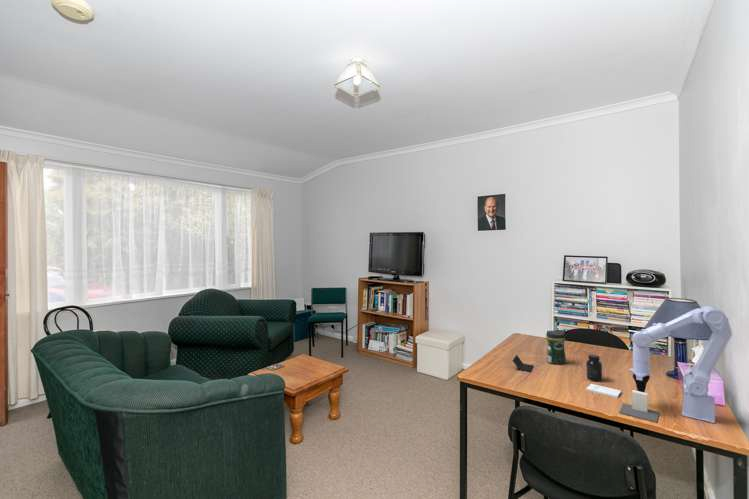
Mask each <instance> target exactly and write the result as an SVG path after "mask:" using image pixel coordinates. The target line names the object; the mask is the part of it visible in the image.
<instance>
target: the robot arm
mask: <svg viewBox="0 0 749 499" xmlns="http://www.w3.org/2000/svg"><path fill="white" fill-rule="evenodd" d="M704 322H705V323H707V325H708V327H709V328H710V329H711V331H712V333H711V335H710V337H709V339H708V341H707V343H706V344H705V346H704V348H703V350H702V351H701V354H700V355H699V358H698V359H697V362H696V363H695V365H694V367H692V368H691V369H690V371H689V372H687V373H686V374H685V375H683V378H682V380H683V383H684V385H685V387H684V388H683V394H682V395H683V396H682V397H683V399H682V400H683V402H682V403H683V406H682V410H681V416H683V417H686V418H690V419H695V420H699V421H704V422H707V423H708V422H709V423H712V424H715V423H716V417H717V412H716V399H715V398H716V397H714V396H711V395H709V394H708V393H709V383H710V381H711V374H712V372H713V371H714V369H715V367H716V366H717V364H718V362H719V359H721V356H722V354H723V353H724V350H725V348H726V347H727V345H728V343H729V341H730V339H731V337H732V335H733V333H732V329H731V325H730V320H729V318H728V316H727V315H726V314H725V313H724V312H723V311H722V310H721V309H718V308H717V307H716V306H714V305H710V304H707V305H706V304H704V305H702V306H701V307H700V308H699V307H698V308H694V309H691V310H690V311H688V312H685V313H684V314H682V315H680V316H678V317H676V318H674V319H671V320H670V321H668V322H666V323H662V322H657V323H656V322H654V323H652V325H651V326H649V327H647V328H642V329H641V328H640V330H639V331H636V332H634V333H633V334H632V337H631V338H632V340H633V344H632V347H633V348H632V367H631V368H629V372H632V373H633V374H632V378H633V380H634V382H635V386H636V389H637V390H636V391H640V392H645V393H646V387H647V383H648V382H649V381H650V378H651V366H650V365H651V364H650V363H651V360H650V359H651V357H650V356H651V353H650V346H651V344H652V343H655V342H657V341H659V340H662V339H665V338H667V337H668V336H670V335H671V332H672V331H674V330H677V329H680V328H682V327H685V326H687V325H690V324H692V323H693V324H694V323H695V324H702V325H703V324H704Z"/></svg>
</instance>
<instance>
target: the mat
mask: <svg viewBox="0 0 749 499" xmlns="http://www.w3.org/2000/svg"><path fill="white" fill-rule="evenodd" d="M618 413H619V414H620V415H625V416H629V417H632V418H637V419H641V420H644V421H648V422H653V423H655V422H656V423H658V419H659V414H660V411H659V410H654V409H649V408H648V412H644V411H640V410H635V409H632V404H628V403H625V402H623V403H622V404H621V408H620V410H619V411H618Z"/></svg>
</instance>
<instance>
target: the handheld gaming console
mask: <svg viewBox="0 0 749 499" xmlns="http://www.w3.org/2000/svg"><path fill="white" fill-rule="evenodd" d="M512 363H514V364H515V366H516V367H517V369H518V371H519V370H521V371H520V372H524V371H527V372H526V373H531V372H532V371H531V370H533V369H532V368H534V367H533V366H534V364H528V363H524V362H523V361H522V360H521V359H520V357H519V356H518V355H517V354H516V355H515V356H514V358H513V359H512Z"/></svg>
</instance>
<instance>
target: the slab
mask: <svg viewBox="0 0 749 499" xmlns="http://www.w3.org/2000/svg"><path fill="white" fill-rule="evenodd" d="M631 405H632V409H635V410H640V411H644V412H648V409H649V394H648V392H646V391H645V392H640V391H638V390H634V389H632V391H631Z"/></svg>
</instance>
